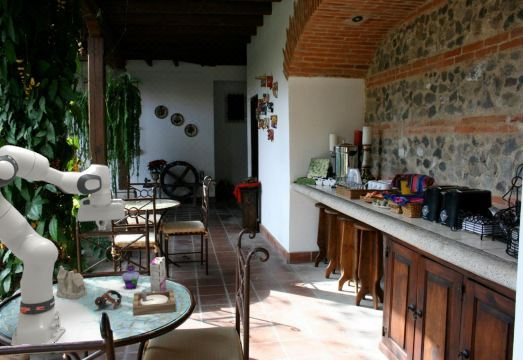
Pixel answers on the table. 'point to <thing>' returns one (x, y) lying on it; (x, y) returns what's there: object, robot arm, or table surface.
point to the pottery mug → (110, 299)
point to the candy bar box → (158, 274)
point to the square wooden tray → (154, 308)
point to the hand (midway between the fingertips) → (102, 229)
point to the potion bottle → (130, 277)
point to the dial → (152, 299)
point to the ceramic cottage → (70, 285)
